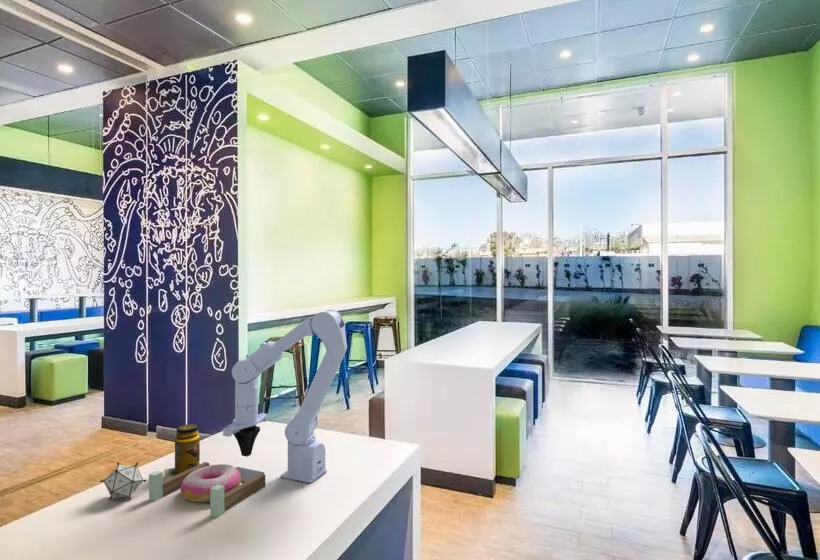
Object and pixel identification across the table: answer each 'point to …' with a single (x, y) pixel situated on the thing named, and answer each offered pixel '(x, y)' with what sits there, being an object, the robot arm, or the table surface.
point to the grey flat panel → (247, 474)
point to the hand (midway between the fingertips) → (246, 455)
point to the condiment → (185, 450)
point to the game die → (123, 481)
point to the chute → (217, 496)
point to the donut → (209, 481)
